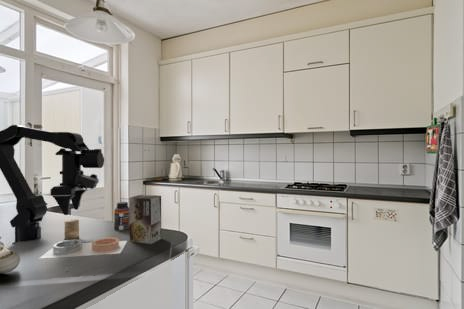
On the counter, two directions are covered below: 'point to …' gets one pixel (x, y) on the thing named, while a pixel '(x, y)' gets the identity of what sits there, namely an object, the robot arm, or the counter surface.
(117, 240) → the terracotta socket
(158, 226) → the coffee box
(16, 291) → the counter surface
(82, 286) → the counter surface
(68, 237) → the banded peg
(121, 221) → the supplement bottle
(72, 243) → the grey ring
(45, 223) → the counter surface
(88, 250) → the socket board
